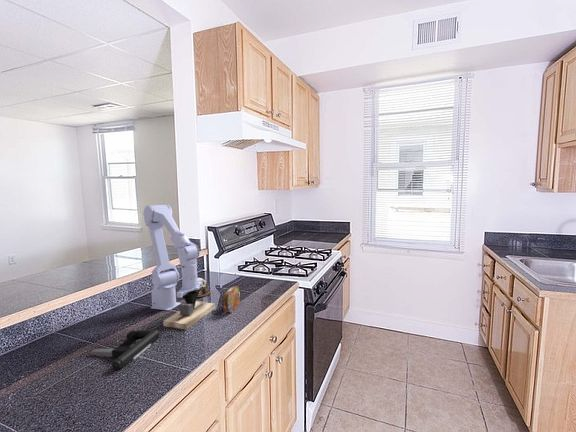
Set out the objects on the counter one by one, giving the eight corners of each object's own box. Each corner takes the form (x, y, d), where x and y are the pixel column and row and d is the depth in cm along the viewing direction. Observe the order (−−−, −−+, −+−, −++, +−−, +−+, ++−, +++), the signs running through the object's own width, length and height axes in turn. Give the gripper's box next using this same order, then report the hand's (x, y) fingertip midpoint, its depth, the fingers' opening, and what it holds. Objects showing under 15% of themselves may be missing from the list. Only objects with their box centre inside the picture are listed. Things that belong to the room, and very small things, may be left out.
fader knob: (179, 314, 119) (179, 305, 119) (184, 311, 122) (184, 302, 122) (188, 315, 118) (188, 306, 118) (193, 312, 121) (193, 303, 120)
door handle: (74, 359, 90) (123, 361, 87) (122, 327, 109) (163, 328, 106) (75, 370, 90) (124, 372, 87) (123, 336, 110) (164, 337, 107)
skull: (203, 297, 140) (189, 280, 141) (190, 310, 143) (176, 293, 144) (217, 288, 151) (204, 272, 153) (204, 300, 155) (191, 284, 156)
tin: (228, 316, 123) (228, 295, 122) (221, 315, 124) (220, 295, 123) (241, 301, 138) (241, 283, 137) (235, 301, 138) (234, 283, 137)
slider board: (163, 326, 115) (163, 320, 115) (194, 305, 134) (194, 301, 134) (186, 329, 112) (186, 324, 112) (215, 308, 131) (215, 303, 131)
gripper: (187, 282, 113) (188, 317, 115) (208, 271, 127) (209, 303, 128) (171, 280, 115) (172, 315, 117) (193, 270, 129) (195, 301, 131)
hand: (191, 308), depth 123 cm, fingers closed
